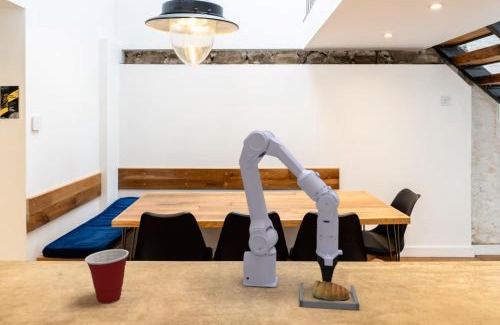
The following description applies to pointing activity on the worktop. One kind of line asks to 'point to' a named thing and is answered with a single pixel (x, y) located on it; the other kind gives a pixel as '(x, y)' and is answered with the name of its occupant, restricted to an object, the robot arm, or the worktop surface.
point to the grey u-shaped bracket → (330, 302)
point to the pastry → (330, 291)
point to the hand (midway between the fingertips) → (326, 283)
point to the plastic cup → (107, 273)
